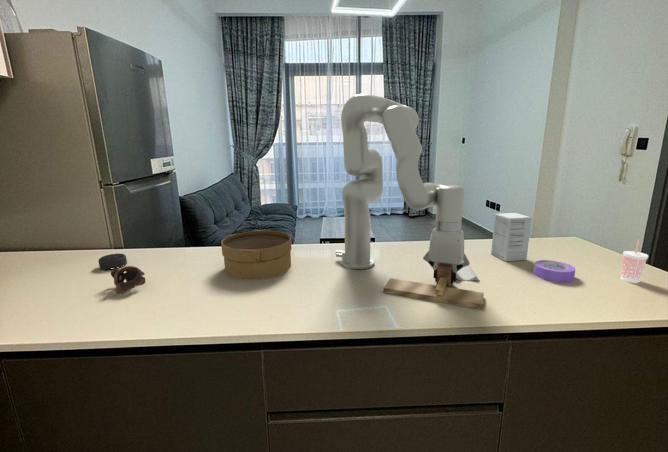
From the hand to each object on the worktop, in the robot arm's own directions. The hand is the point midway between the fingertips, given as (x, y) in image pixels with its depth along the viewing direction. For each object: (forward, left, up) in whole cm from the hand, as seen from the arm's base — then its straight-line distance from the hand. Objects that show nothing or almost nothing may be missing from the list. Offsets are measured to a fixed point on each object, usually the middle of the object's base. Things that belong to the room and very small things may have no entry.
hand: (444, 281), depth 107 cm
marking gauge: (0, -5, -1) cm, 5 cm away
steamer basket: (-65, -10, -2) cm, 66 cm away
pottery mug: (-93, -41, -2) cm, 102 cm away
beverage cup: (+55, +28, -2) cm, 61 cm away
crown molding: (0, +21, -2) cm, 21 cm away
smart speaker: (-117, -30, -2) cm, 121 cm away
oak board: (-2, -8, -1) cm, 9 cm away
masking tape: (+33, +23, -2) cm, 40 cm away
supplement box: (+20, +38, -2) cm, 42 cm away
